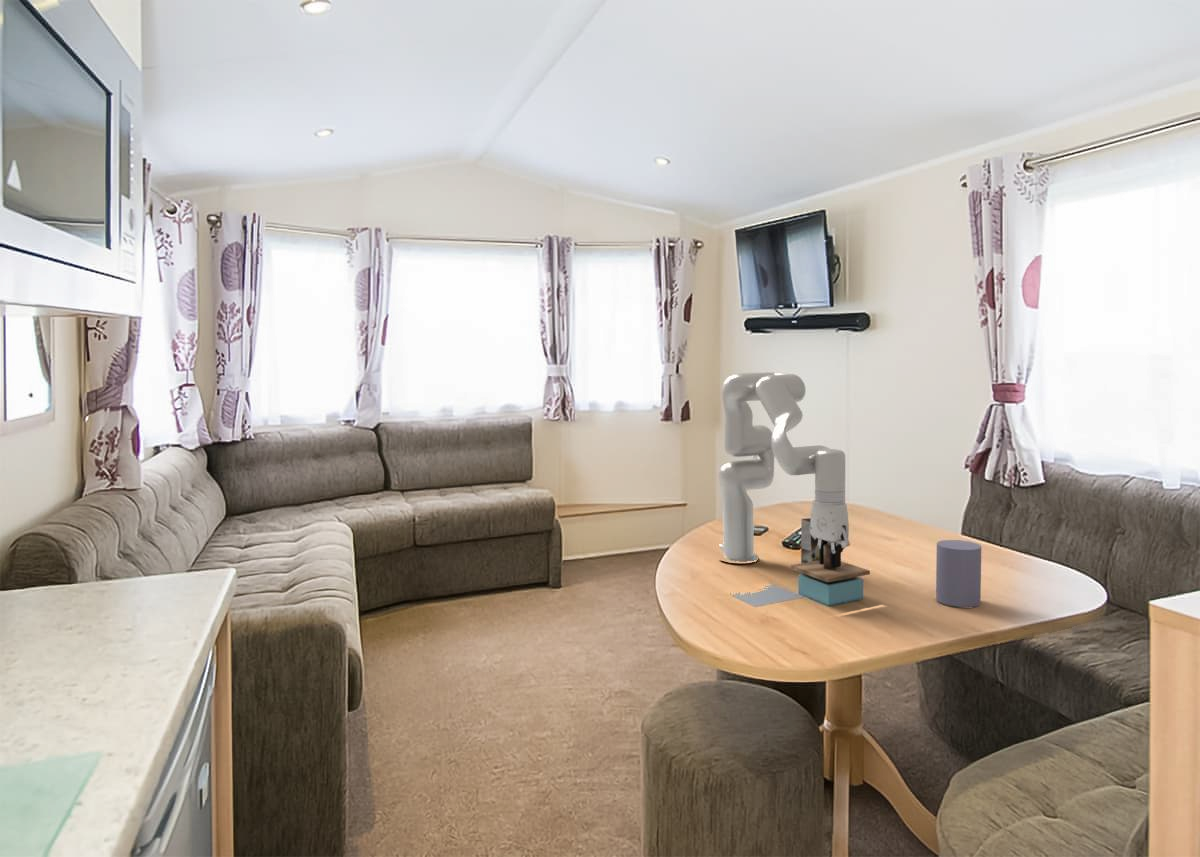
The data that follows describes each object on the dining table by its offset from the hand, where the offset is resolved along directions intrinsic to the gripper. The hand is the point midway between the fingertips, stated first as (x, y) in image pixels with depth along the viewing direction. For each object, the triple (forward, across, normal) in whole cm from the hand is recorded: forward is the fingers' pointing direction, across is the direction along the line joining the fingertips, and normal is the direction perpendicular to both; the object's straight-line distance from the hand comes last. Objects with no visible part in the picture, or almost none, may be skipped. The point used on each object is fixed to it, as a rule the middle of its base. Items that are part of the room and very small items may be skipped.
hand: (830, 564), depth 199 cm
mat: (+9, -11, -14) cm, 20 cm away
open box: (+9, 0, 0) cm, 9 cm away
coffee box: (+9, -20, +14) cm, 26 cm away
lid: (+2, 0, 0) cm, 2 cm away
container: (+9, +18, +26) cm, 33 cm away
